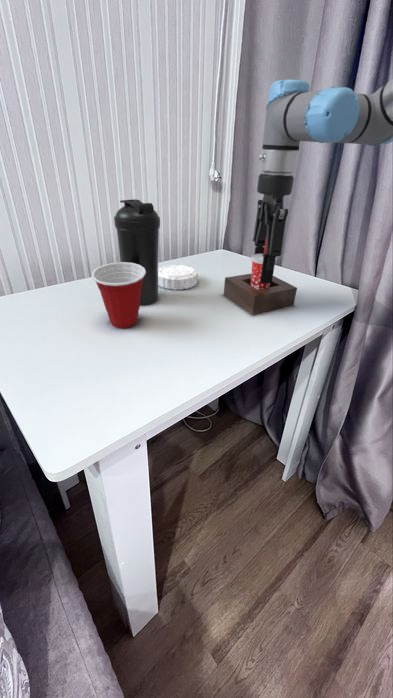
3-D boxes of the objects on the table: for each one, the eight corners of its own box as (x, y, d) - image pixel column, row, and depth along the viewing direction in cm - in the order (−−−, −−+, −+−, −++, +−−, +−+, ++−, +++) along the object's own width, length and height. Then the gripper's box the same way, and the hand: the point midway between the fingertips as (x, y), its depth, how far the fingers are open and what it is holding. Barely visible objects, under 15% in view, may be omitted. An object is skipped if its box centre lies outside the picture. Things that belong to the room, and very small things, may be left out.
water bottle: (146, 287, 91) (142, 196, 79) (169, 299, 85) (169, 203, 72) (113, 296, 85) (103, 199, 73) (136, 310, 79) (129, 207, 66)
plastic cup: (88, 328, 71) (79, 274, 64) (115, 308, 79) (110, 259, 73) (133, 339, 68) (129, 283, 61) (156, 317, 76) (154, 266, 70)
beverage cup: (257, 298, 82) (265, 240, 74) (242, 289, 86) (249, 234, 79) (276, 294, 84) (286, 237, 77) (260, 286, 89) (269, 232, 81)
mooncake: (188, 293, 89) (188, 280, 87) (148, 285, 92) (147, 273, 90) (203, 278, 98) (203, 267, 97) (166, 272, 102) (166, 261, 100)
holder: (262, 288, 94) (264, 271, 91) (293, 306, 84) (297, 287, 82) (223, 295, 89) (225, 277, 86) (252, 315, 79) (255, 296, 76)
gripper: (247, 169, 78) (237, 265, 90) (275, 177, 62) (258, 292, 75) (277, 170, 79) (263, 265, 92) (312, 178, 63) (290, 291, 76)
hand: (261, 277), depth 83 cm, fingers closed on beverage cup, 6 cm apart
